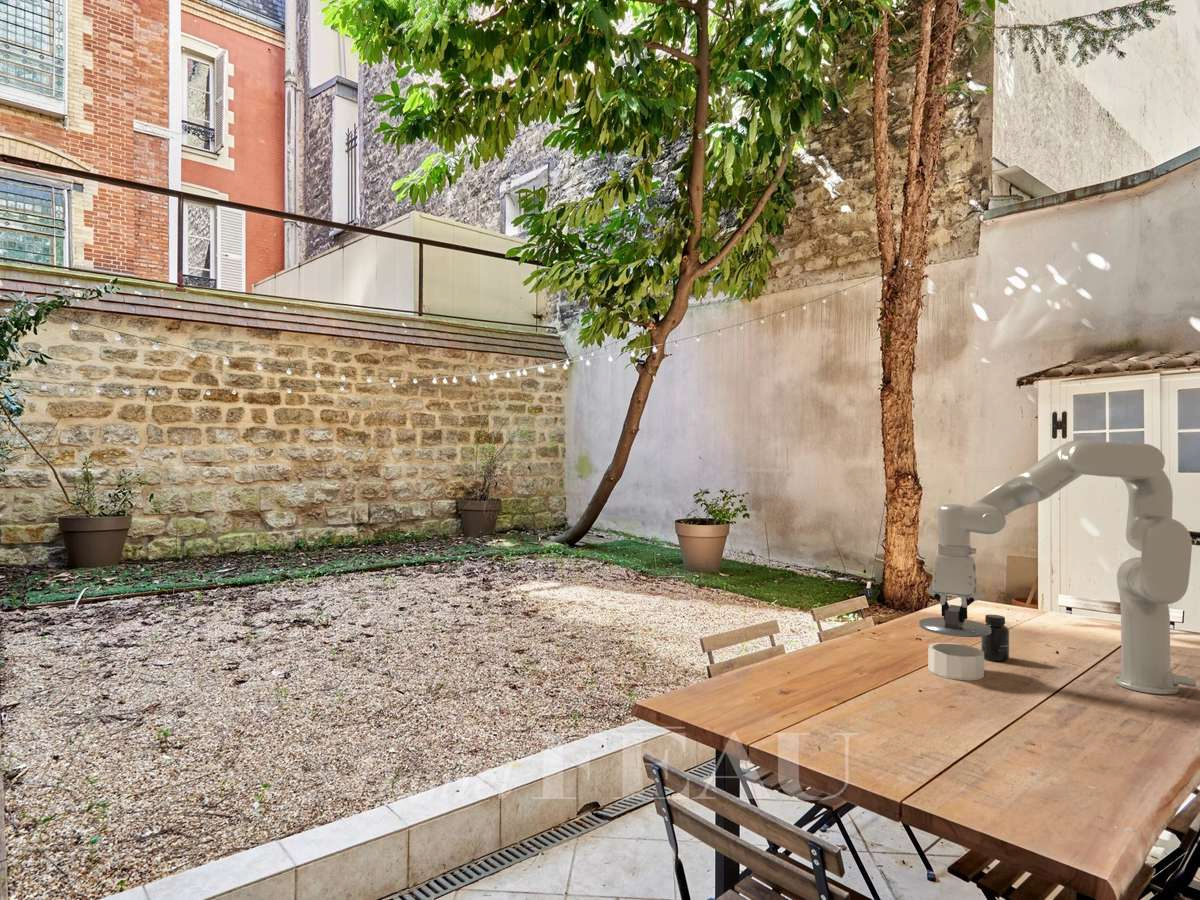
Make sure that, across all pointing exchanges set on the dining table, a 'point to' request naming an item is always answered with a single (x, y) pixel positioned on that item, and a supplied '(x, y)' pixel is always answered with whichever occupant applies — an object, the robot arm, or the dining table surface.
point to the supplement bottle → (996, 639)
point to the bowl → (956, 661)
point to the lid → (954, 625)
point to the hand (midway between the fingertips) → (954, 619)
